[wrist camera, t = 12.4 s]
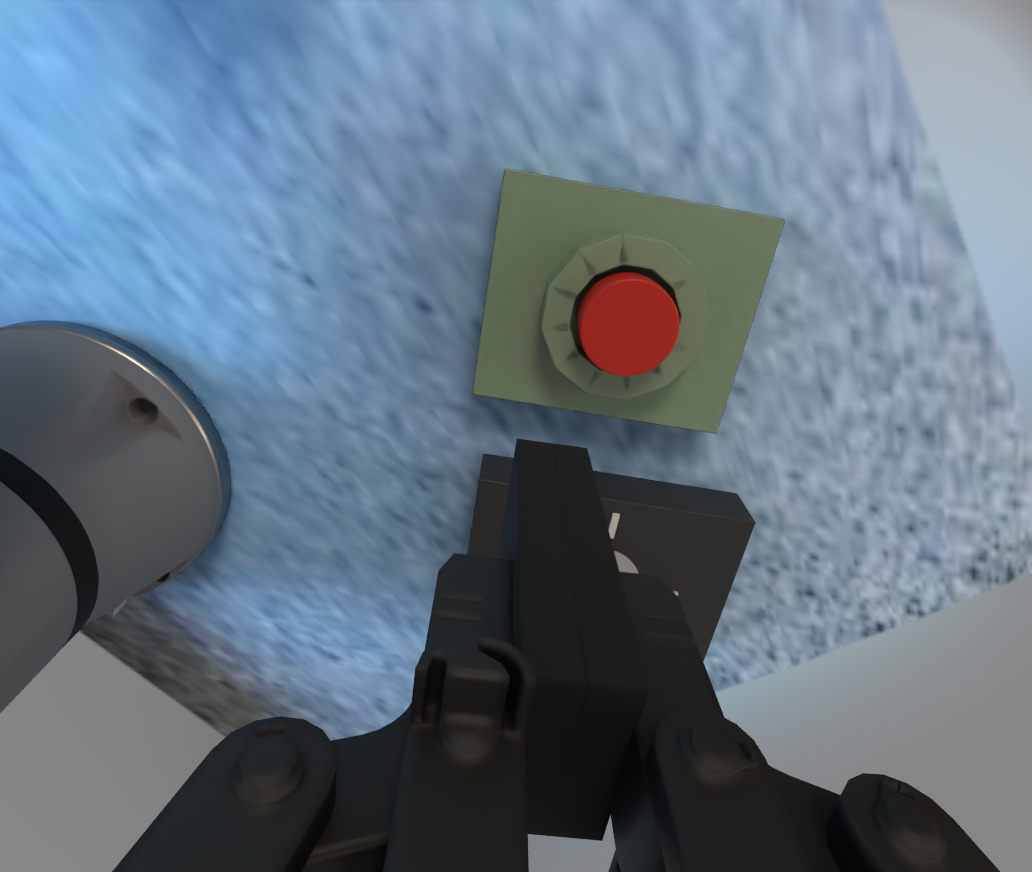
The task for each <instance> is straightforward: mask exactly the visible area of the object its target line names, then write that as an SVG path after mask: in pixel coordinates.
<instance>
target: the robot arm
mask: <svg viewBox="0 0 1032 872" xmlns="http://www.w3.org/2000/svg"><path fill="white" fill-rule="evenodd" d="M229 497H230V471H229V465H228V460H227V456H226V452H225V449H224V445H223V443H222V440H221V438H220V435H219V433H218V431H217V429H216V427H215V425H214V423H213V421H212V419H211V418H210V416H209V414H208V413H207V411H206V410H205V408H204V407H203V405H202V404H201V403H200V401H199V400H198V399H197V397H196V396H195V395H194V394H193V392H192V391H191V390H190V389H189V388H188V387H187V386H186V385H185V383H184V382H182V381H181V380H180V379H179V378H178V377H177V376H176V375H175V374H174V373H173V372H172V371H171V370H169V369H168V368H167V367H166V366H165V365H163V364H162V363H161V362H160V361H158V360H157V359H155V358H154V357H152V356H151V355H150V354H148V353H147V352H145V351H143V350H142V349H140V348H138V347H136V346H135V345H133V344H131V343H129V342H127V341H125V340H123V339H121V338H119V337H117V336H114V335H112V334H109V333H106V332H104V331H101V330H98V329H94V328H91V327H88V326H83V325H79V324H74V323H67V322H59V321H31V322H23V323H18V324H12V325H9V326H6V327H2V328H0V713H1V712H2V711H3V710H4V708H6V706H7V705H8V704H9V703H10V702H11V701H12V700H13V699H14V698H15V697H16V696H17V695H18V694H19V693H20V692H21V690H23V689H24V688H25V687H26V686H27V685H28V684H29V682H30V681H31V680H32V679H33V678H34V677H35V676H36V675H37V674H38V673H39V672H40V671H41V670H42V669H43V668H44V667H45V666H46V665H47V664H48V662H50V661H51V659H52V658H53V657H54V656H55V655H56V654H57V653H58V652H59V651H60V649H62V648H63V647H64V646H65V645H66V643H67V642H69V641H70V639H71V638H72V637H73V636H74V635H75V634H76V633H77V632H78V631H79V630H80V629H81V628H82V627H83V626H84V625H85V624H87V623H89V622H91V621H93V620H95V619H97V618H99V617H101V616H102V615H104V614H106V613H108V612H110V611H112V610H114V613H113V617H114V616H115V615H116V614H117V613H118V611H119V610H120V609H121V608H122V607H123V606H124V605H125V604H126V602H127V601H128V600H129V599H131V598H132V597H133V596H137V595H140V594H143V593H145V592H148V591H150V590H152V589H155V588H157V587H159V586H161V585H162V584H164V583H166V582H168V581H169V580H171V579H172V578H174V577H175V576H176V575H178V574H179V573H180V572H181V571H183V570H184V569H185V568H186V567H187V566H189V565H190V564H191V563H192V562H193V561H194V560H195V559H196V558H197V557H198V556H199V555H200V554H201V553H202V551H203V550H204V549H205V548H206V547H207V545H208V544H209V543H210V542H211V540H212V539H213V538H214V537H215V535H216V534H217V532H218V530H219V528H220V527H221V525H222V522H223V520H224V518H225V515H226V511H227V508H228V504H229ZM610 814H611V819H612V826H613V833H614V839H615V845H616V851H615V854H614V857H613V860H612V863H611V866H610V869H609V872H1000V871H999V870H998V869H997V868H996V867H995V866H994V864H993V863H992V862H991V861H990V860H989V859H988V858H987V856H986V855H985V854H984V853H983V852H982V851H981V850H980V849H979V848H978V846H977V845H976V844H975V843H974V842H973V841H972V840H971V838H970V837H969V836H968V835H967V834H966V833H965V832H964V830H963V829H962V828H961V827H960V826H959V825H958V824H957V823H956V822H955V820H954V819H953V818H951V817H950V816H949V815H948V814H947V813H946V812H945V811H944V810H943V809H942V808H941V807H940V806H939V805H938V804H936V803H935V802H934V801H933V800H932V799H931V798H929V797H928V796H926V795H925V794H923V793H921V792H920V791H918V790H917V789H915V788H913V787H912V786H910V785H909V784H907V783H904V782H902V781H899V780H896V779H894V778H891V777H888V776H886V775H880V774H865V773H863V774H861V775H858V776H856V777H854V778H852V779H850V780H848V782H847V784H846V786H845V788H844V790H843V792H842V793H841V795H839V794H836V793H833V792H831V791H828V790H825V789H823V788H820V787H818V786H815V785H812V784H810V783H807V782H805V781H802V780H799V779H797V778H794V777H791V776H789V775H787V774H785V773H783V772H781V771H779V770H776V769H774V768H772V767H771V766H769V765H768V764H767V761H766V759H765V757H764V756H763V754H762V753H761V751H760V749H759V748H758V746H757V745H756V743H755V741H754V740H753V739H752V738H751V737H750V736H749V735H747V734H746V733H745V732H744V731H743V730H742V729H741V728H740V727H739V726H738V725H737V724H735V723H733V722H731V721H729V720H727V719H726V718H724V716H723V713H722V710H721V708H720V705H719V702H718V700H717V697H716V694H715V692H714V689H713V687H712V684H711V681H710V679H709V676H708V674H707V671H706V668H705V666H704V663H703V660H702V658H701V655H700V653H699V650H698V647H697V645H696V644H695V643H694V637H693V634H692V632H691V629H690V626H689V624H687V619H686V616H685V613H684V611H683V608H682V606H681V603H680V600H679V598H678V596H677V595H676V594H675V593H674V592H673V591H672V590H671V589H670V588H669V586H668V585H667V584H666V583H665V582H664V581H663V580H662V579H661V578H660V577H659V576H654V575H645V574H637V573H629V572H620V571H619V568H618V564H617V561H616V557H615V553H614V549H613V545H612V542H611V538H610V534H609V530H608V526H607V522H606V519H605V515H604V511H603V507H602V503H601V500H600V496H599V492H598V488H597V484H596V481H595V477H594V473H593V469H592V465H591V462H590V458H589V454H588V450H587V448H582V447H575V446H567V445H560V444H552V443H545V442H537V441H530V440H522V439H517V442H516V449H515V455H514V461H513V467H512V473H511V479H510V485H509V491H508V497H507V503H506V509H505V515H504V521H503V527H502V534H501V540H500V546H499V559H496V558H487V557H479V556H471V555H462V554H453V556H452V557H451V558H450V559H449V560H448V561H447V562H446V563H445V564H444V565H443V567H442V568H441V569H440V570H439V572H438V578H437V583H436V589H435V595H434V600H433V606H432V612H431V617H430V623H429V629H428V634H427V640H426V646H425V651H424V652H423V653H422V655H421V658H420V660H419V662H418V664H417V666H416V668H415V677H414V686H413V695H412V703H411V704H410V706H409V707H408V709H407V710H406V711H405V712H404V713H403V714H402V715H401V716H400V717H398V718H397V719H396V720H395V721H394V722H392V723H390V724H388V725H387V726H385V727H383V728H381V729H379V730H376V731H373V732H370V733H366V734H363V735H359V736H354V737H348V738H343V739H338V740H333V741H330V740H329V738H328V737H327V735H326V734H325V733H324V731H323V730H322V729H320V728H318V727H317V726H315V725H313V724H311V723H309V722H308V721H306V720H304V719H296V718H289V717H282V716H280V717H274V718H268V719H263V720H257V721H254V722H252V723H250V724H248V725H246V726H244V727H241V728H239V729H237V730H235V731H233V732H231V733H230V734H229V735H228V736H227V737H226V738H224V739H223V740H222V741H221V742H220V743H219V744H218V745H217V746H216V747H214V748H213V749H212V750H211V751H210V753H209V754H208V755H207V756H206V757H205V759H204V760H203V761H202V763H201V764H200V765H199V766H198V767H197V768H196V770H195V771H194V772H193V773H192V775H191V776H190V777H189V778H188V780H187V781H186V782H185V784H183V786H182V787H181V788H180V789H179V791H178V792H177V793H176V794H175V796H174V797H173V798H172V799H171V800H170V802H169V803H168V804H167V805H166V806H165V808H164V809H163V810H162V811H161V813H160V814H159V815H158V816H157V818H156V819H155V820H154V821H153V822H152V824H151V825H150V826H149V827H148V829H147V830H146V831H145V832H144V833H143V835H142V836H141V837H140V838H139V840H138V841H137V842H136V843H135V845H134V846H133V847H132V848H131V849H130V851H129V852H128V853H127V854H126V856H125V857H124V858H123V859H122V860H121V862H120V863H119V864H118V865H117V867H116V868H115V869H114V870H113V871H112V872H528V871H529V870H528V837H527V836H528V834H535V835H546V836H557V837H568V838H579V839H591V840H601V841H602V839H603V836H604V833H605V830H606V827H607V824H608V820H609V817H610Z"/></svg>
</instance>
